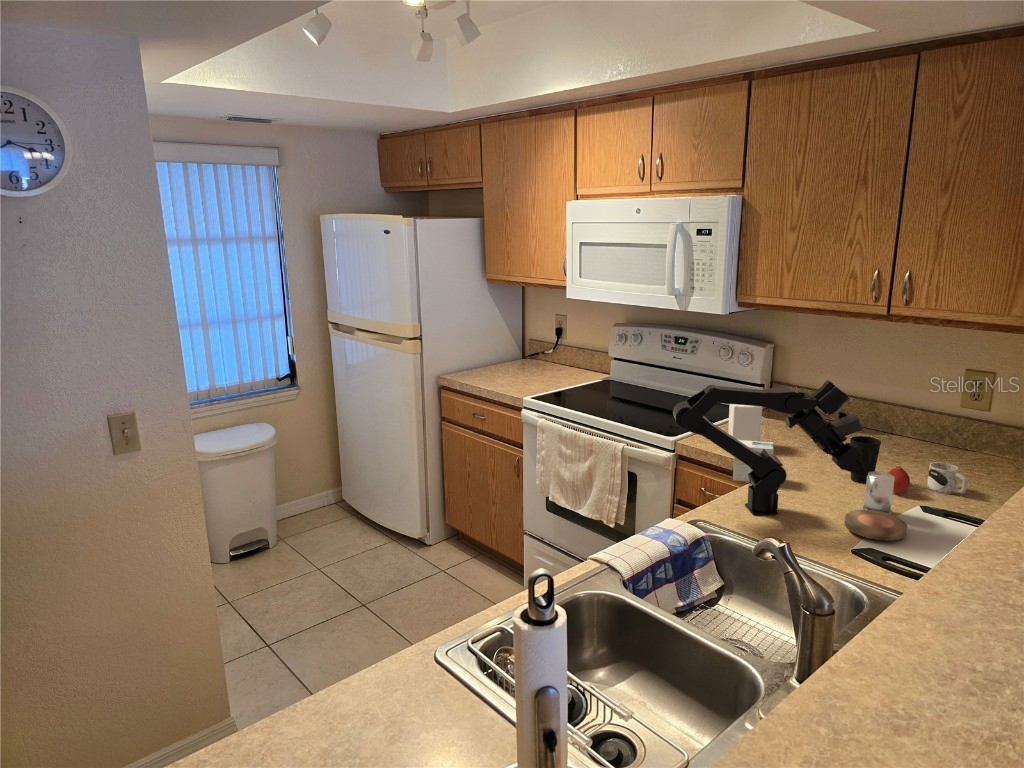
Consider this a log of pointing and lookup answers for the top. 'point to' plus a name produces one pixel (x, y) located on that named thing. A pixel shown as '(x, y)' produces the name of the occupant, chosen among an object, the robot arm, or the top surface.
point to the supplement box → (745, 422)
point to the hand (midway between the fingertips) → (859, 469)
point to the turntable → (875, 525)
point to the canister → (879, 492)
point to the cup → (866, 455)
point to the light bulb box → (742, 469)
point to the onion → (900, 479)
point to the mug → (945, 478)
